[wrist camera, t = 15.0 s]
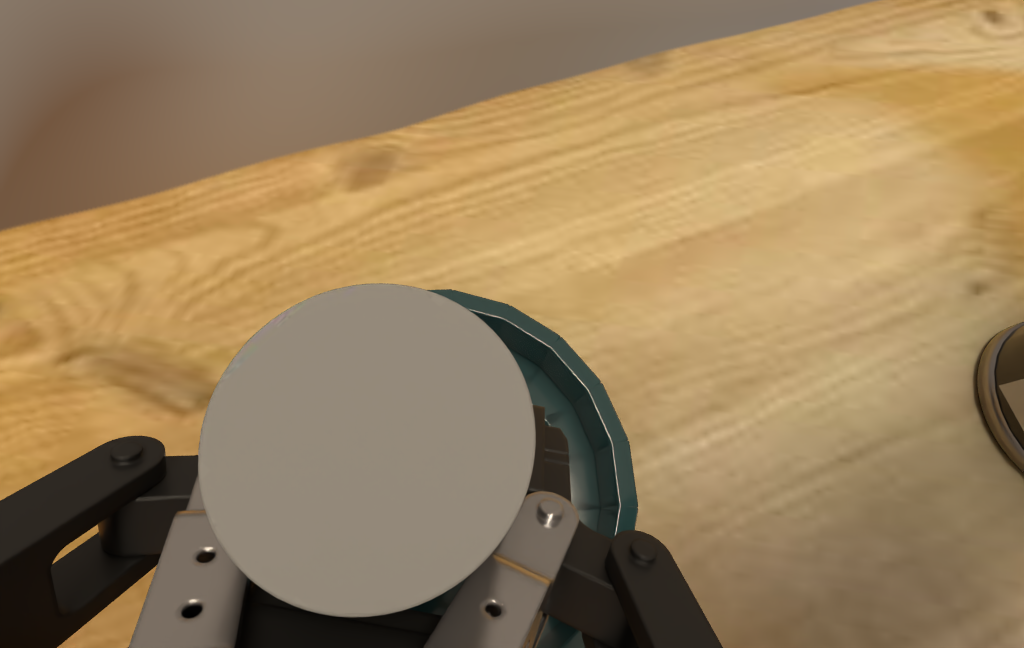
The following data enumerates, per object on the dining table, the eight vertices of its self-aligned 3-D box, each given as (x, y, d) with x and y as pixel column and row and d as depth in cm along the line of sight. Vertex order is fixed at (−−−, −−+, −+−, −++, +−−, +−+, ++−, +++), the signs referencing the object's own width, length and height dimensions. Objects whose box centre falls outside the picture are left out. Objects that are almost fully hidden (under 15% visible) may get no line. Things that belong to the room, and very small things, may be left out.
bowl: (461, 284, 28) (461, 223, 22) (661, 518, 25) (721, 515, 19) (195, 473, 24) (112, 457, 18) (396, 781, 21) (372, 876, 15)
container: (342, 531, 21) (103, 526, 7) (402, 418, 22) (310, 226, 8) (456, 586, 20) (452, 702, 6) (508, 467, 22) (594, 354, 8)
